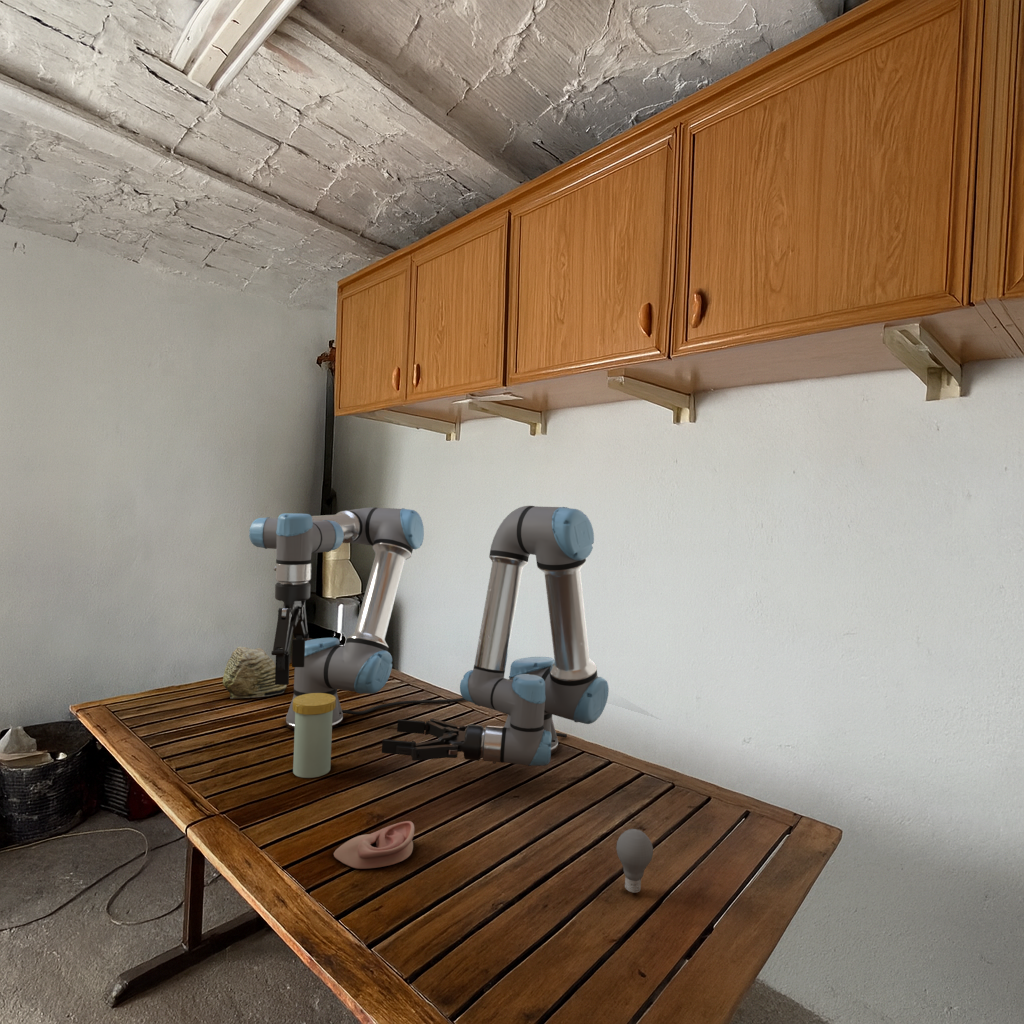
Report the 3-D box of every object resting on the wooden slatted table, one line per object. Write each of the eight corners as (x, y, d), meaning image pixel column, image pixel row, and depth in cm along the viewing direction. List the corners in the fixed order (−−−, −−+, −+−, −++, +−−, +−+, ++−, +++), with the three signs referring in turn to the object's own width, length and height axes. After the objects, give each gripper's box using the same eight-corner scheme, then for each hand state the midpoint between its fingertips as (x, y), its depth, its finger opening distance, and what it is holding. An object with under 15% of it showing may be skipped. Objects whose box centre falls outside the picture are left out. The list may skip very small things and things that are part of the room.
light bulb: (610, 879, 108) (613, 822, 108) (644, 879, 109) (647, 822, 109) (619, 902, 102) (622, 840, 102) (655, 901, 103) (658, 840, 103)
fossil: (218, 695, 195) (220, 647, 195) (278, 685, 208) (279, 640, 207) (228, 703, 189) (230, 653, 188) (289, 692, 201) (290, 645, 201)
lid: (320, 698, 153) (321, 690, 153) (343, 708, 147) (344, 699, 147) (284, 707, 146) (284, 698, 146) (307, 718, 139) (307, 708, 139)
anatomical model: (325, 840, 109) (355, 809, 121) (324, 863, 109) (354, 830, 121) (398, 852, 107) (421, 819, 118) (397, 876, 107) (420, 840, 118)
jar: (317, 759, 152) (320, 693, 152) (337, 770, 147) (340, 701, 147) (286, 769, 146) (288, 700, 146) (305, 781, 141) (308, 709, 140)
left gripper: (290, 574, 155) (288, 660, 156) (258, 590, 130) (255, 692, 131) (322, 575, 155) (319, 660, 156) (295, 591, 131) (292, 692, 131)
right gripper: (475, 782, 131) (374, 773, 132) (487, 740, 155) (402, 733, 157) (477, 746, 131) (376, 737, 132) (489, 709, 155) (404, 702, 157)
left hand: (290, 675), depth 143 cm, fingers open, 13 cm apart
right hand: (390, 735), depth 144 cm, fingers open, 13 cm apart
